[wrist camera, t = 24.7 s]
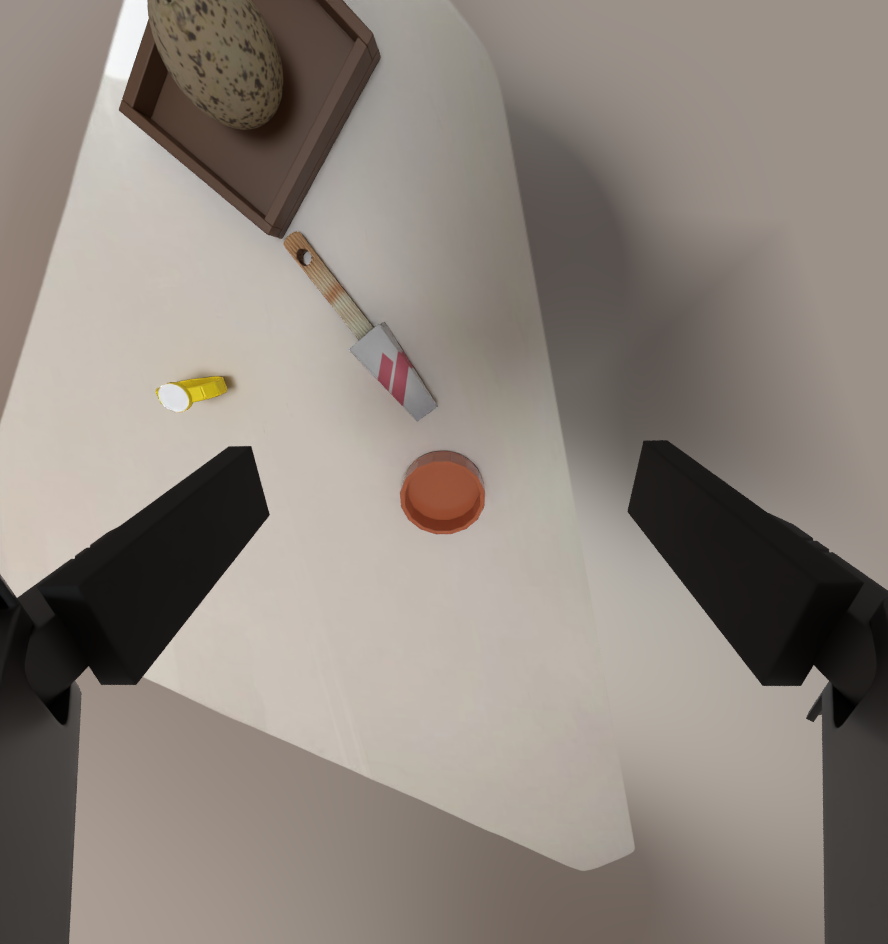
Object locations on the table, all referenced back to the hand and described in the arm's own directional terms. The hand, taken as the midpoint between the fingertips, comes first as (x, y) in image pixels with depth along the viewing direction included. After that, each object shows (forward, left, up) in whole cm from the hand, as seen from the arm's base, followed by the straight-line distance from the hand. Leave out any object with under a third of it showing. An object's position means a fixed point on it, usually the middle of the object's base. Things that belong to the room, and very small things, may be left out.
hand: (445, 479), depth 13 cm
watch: (+26, +3, -29) cm, 39 cm away
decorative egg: (+15, -20, -28) cm, 37 cm away
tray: (+15, -20, -29) cm, 38 cm away
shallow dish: (+1, +16, -29) cm, 33 cm away
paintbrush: (+8, -2, -29) cm, 30 cm away
